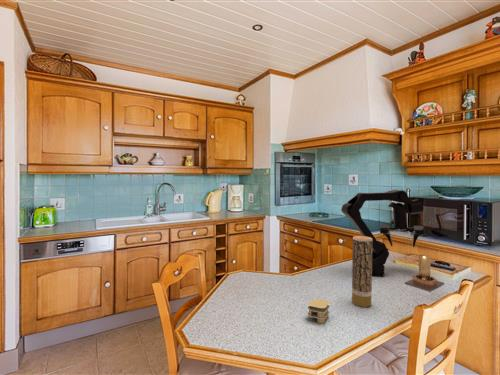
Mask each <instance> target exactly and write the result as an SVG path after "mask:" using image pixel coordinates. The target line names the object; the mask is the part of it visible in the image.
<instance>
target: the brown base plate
mask: <svg viewBox="0 0 500 375" xmlns="http://www.w3.org/2000/svg"><path fill="white" fill-rule="evenodd" d="M404 284H405V285H407V286H411V287H414V288H417V289H420V290H424V291H427V292H432V291H434V290H436V289H438V288H439V287H441V286H443V285H444V284H445V282H443V281H440V280H438V279H437V278H435V277H433V276H431V275H430V281H427V280H422V279H419V273H416V274H414V275H413V276H412V279H410V280H408V281H405V282H404Z"/></svg>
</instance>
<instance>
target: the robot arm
mask: <svg viewBox="0 0 500 375" xmlns="http://www.w3.org/2000/svg"><path fill="white" fill-rule="evenodd" d="M367 201H368V202H373V201H390V203H389V205H388V206H387V207H388V208H392V212H393V213H392V215H393V217H392V218H391V217H390V218H391V219H390V224H391V225H392V226H394V227H390V226H389V225H380V226H379V233H380V234H382V235H383V236H385V237H386V238H387V240H388V242H389V244H390V246H391V247H394V246H393V241H392V236H391V235H392V234H391V232H412V236H413V237H412V247H413V248H415V246H416V242H417V240H418V238H419V236H420V237H421V236H422V235H424V234H425V227H424V226H423V225H413V227H409V226H408V215H416V214H423V212H424V206H423V203H421V200H420V199H417V198H416V199H413V200H412V199H411V198H410V197H409V196H408V194H407V192H406V191H405V190H399V189H391V190H388V191H384V192H358V193H356V194H355V196H353V197H352V198H350V199H349V200H348V201H347V202H346V203H344V204H343V205H342V206H341V213H342V214H343V215H345V217H346V218H347V219H349V220H350V221H351V222H352V223H353V224H354V226H355V227H356V229H357V230H358V232H359V233H360V234H361V236H366V237H371V238H372V240H373V241H372V277H373V276H374V277H382V278H383V277H385V264H386V263H387V260H388V258H389V257H390V256H389V255H390V252H389V250H390V249H388V248H387V246H386V244H385V242H382V241H380V240H377V238H376V237H375V236H374V234H373V233H372V231H371V230H370V228H369V227H368V226H367V224H366V223H365V221H364V220H363V218H362V215H361V211H360V210H361V208H363V206H364V203H366V202H367ZM396 202H397V203H396ZM407 214H408V215H407Z"/></svg>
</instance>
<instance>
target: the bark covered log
mask: <svg viewBox="0 0 500 375" xmlns="http://www.w3.org/2000/svg"><path fill="white" fill-rule="evenodd" d="M372 241H373V240H372V238H371V237H366V236H362V235H354V236H353V237H352V262H351V264H352V265H351V266H352V269H351V271H352V272H351V273H352V274H351V278H352V279H351V283H352V284H351V303H352V304H354V305H356V306H357V307H361V308H368V307H370V306H371V305H372V293H373V292H372V290H373V288H372V287H373V286H372V285H373V276H372Z"/></svg>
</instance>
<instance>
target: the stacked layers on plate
mask: <svg viewBox="0 0 500 375" xmlns="http://www.w3.org/2000/svg"><path fill="white" fill-rule="evenodd" d="M307 304H308V306H307V309H308V312H307V315H308V316H309V317H310V318H315V319H316V321H317V323H319V324H324V323H325V322H326V320H327V318H329V314H330V311H329V308H330V307H331V306H330V305H329V304H330V301H328V300H324V299H322V298H318V299H314V300H311V301H309V302H307Z"/></svg>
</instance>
